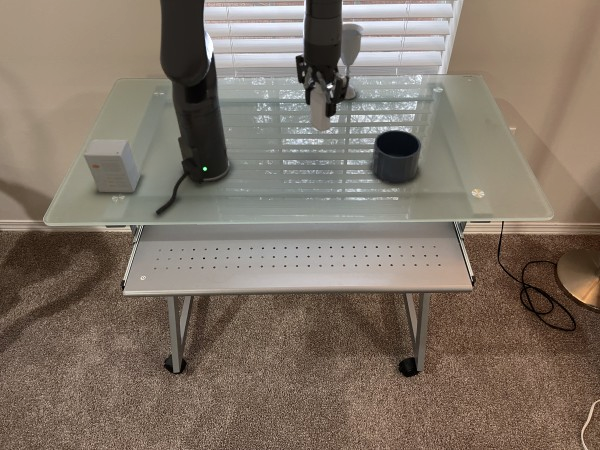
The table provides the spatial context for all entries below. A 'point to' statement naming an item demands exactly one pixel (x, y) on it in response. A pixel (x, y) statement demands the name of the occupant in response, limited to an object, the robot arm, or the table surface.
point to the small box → (112, 165)
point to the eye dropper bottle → (318, 109)
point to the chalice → (350, 50)
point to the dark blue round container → (395, 156)
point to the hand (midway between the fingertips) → (320, 109)
